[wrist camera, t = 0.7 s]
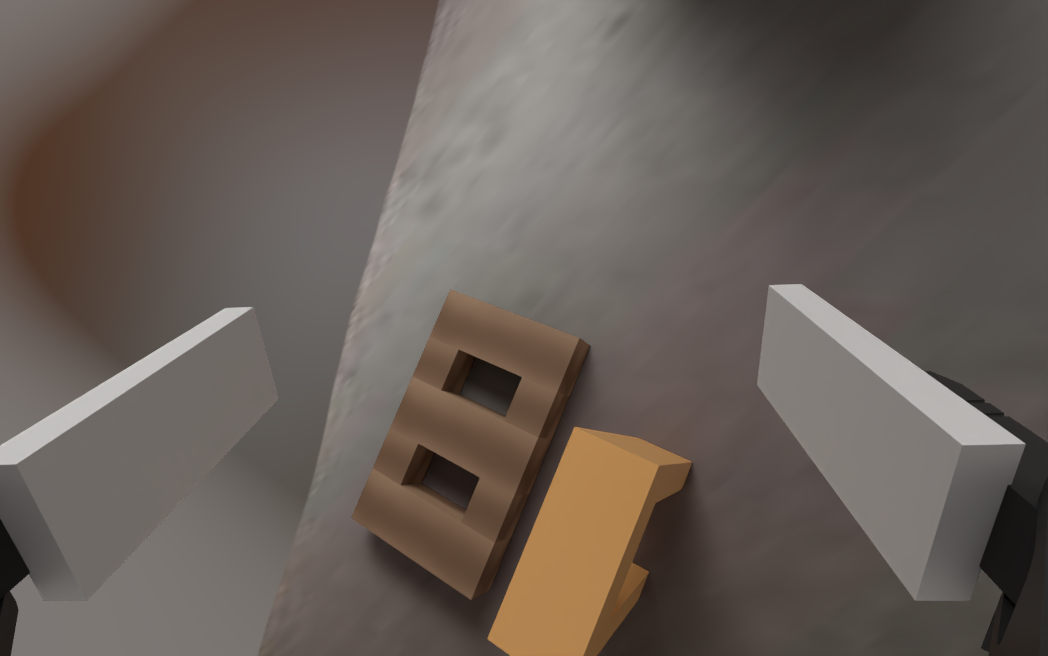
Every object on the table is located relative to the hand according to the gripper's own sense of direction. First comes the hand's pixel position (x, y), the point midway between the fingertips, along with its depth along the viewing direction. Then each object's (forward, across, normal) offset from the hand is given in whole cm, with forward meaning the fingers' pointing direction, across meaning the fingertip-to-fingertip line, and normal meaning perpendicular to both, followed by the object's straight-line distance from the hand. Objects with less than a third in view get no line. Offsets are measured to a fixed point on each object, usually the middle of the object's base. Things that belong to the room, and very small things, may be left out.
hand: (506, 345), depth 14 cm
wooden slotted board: (+24, -6, -18) cm, 31 cm away
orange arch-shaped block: (+17, +6, -21) cm, 28 cm away
